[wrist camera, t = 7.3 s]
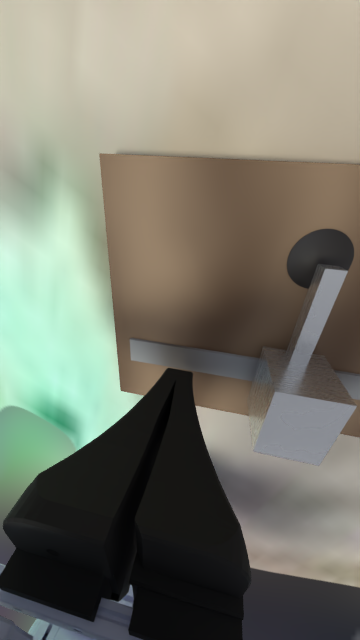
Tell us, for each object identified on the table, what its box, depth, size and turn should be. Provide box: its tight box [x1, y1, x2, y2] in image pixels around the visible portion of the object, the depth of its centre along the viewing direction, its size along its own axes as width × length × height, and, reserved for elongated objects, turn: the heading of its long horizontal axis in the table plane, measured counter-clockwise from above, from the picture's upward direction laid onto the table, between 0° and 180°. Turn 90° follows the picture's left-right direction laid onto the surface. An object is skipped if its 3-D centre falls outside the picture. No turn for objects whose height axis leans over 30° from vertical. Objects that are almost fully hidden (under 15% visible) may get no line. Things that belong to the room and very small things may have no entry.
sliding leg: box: [247, 264, 357, 466], centre depth 10 cm, size 3×8×3 cm, turn 177°
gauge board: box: [100, 154, 360, 437], centre depth 10 cm, size 24×14×6 cm, turn 87°
